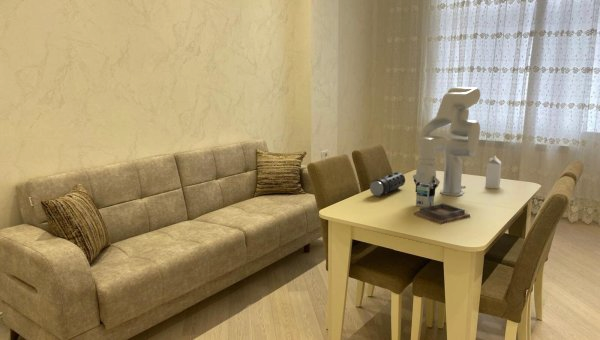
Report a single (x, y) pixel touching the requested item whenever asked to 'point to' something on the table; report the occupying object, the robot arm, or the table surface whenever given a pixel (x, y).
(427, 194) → the light bulb box
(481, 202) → the table surface
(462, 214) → the tray
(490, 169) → the milk carton
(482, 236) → the table surface
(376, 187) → the muzzle brake
